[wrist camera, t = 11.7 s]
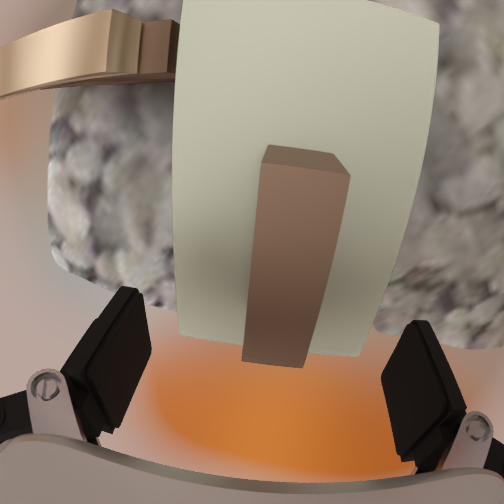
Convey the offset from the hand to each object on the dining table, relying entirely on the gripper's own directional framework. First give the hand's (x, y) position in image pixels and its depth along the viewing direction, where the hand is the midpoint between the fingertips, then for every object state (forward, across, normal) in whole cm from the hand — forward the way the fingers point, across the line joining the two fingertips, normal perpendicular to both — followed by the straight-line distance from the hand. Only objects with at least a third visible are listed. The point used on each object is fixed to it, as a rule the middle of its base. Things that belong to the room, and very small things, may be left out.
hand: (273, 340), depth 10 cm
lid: (+9, -1, -3) cm, 9 cm away
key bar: (+7, +15, -10) cm, 20 cm away
